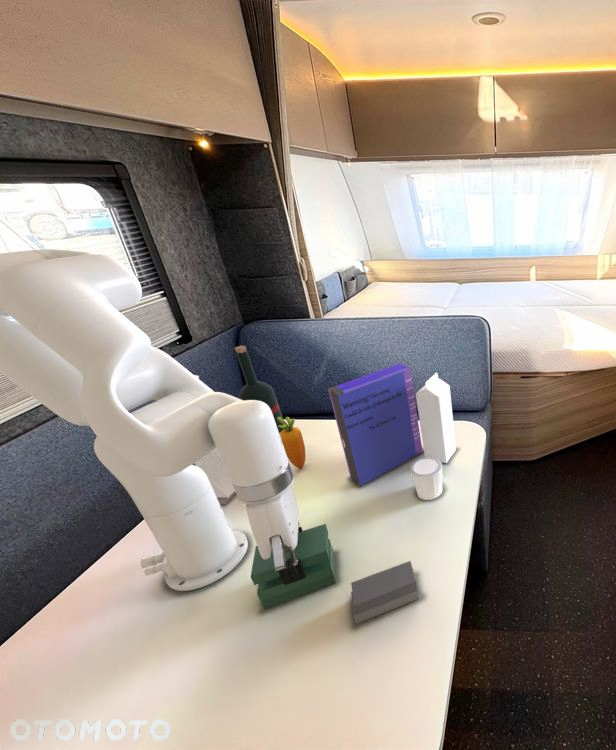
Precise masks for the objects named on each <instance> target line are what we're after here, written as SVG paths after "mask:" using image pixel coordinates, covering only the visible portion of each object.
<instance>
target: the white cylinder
mask: <svg viewBox="0 0 616 750" xmlns="http://www.w3.org/2000/svg"><path fill="white" fill-rule="evenodd" d="M409 470H410V473H411V474H410V475H411V477H412V481H413V483H414V487H415V490H416V494H417V496H418V498H420V499H421V500H424V501H430V500H431V501H432V500H435V499H436V498H438V497H439V496H441V494H442V493H443V463H442V462H441V461H440V460H439V459H437V458H434V457H425V456H424V457H421V458H419V459H416V460H415V461H414V462H413V463H412V464H411V466H410V468H409Z"/></svg>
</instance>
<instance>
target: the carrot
mask: <svg viewBox="0 0 616 750" xmlns="http://www.w3.org/2000/svg"><path fill="white" fill-rule="evenodd" d="M277 420H278V421H280V422H281V423H282V424H283V425H279V426H278V427H280V428H282V429H284V430H283V431H281V432H280V433H279V435H280V437H281V440H282V443H283V446H284V449H285V452H286V455H287V458H288V461H289V463H290V464H292V465H293V466H294V467H295V468H297V470H302V469H303V468H304V466H305V463H306V446H305V441H304V437H303V434H302V432H301V430H300V428H299V427H297V426H294V423H295V422H296V419H295V418H290V417H289V416H286V417H285V420H284V418H283V419H282V418H281V417H278V418H277Z"/></svg>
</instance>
